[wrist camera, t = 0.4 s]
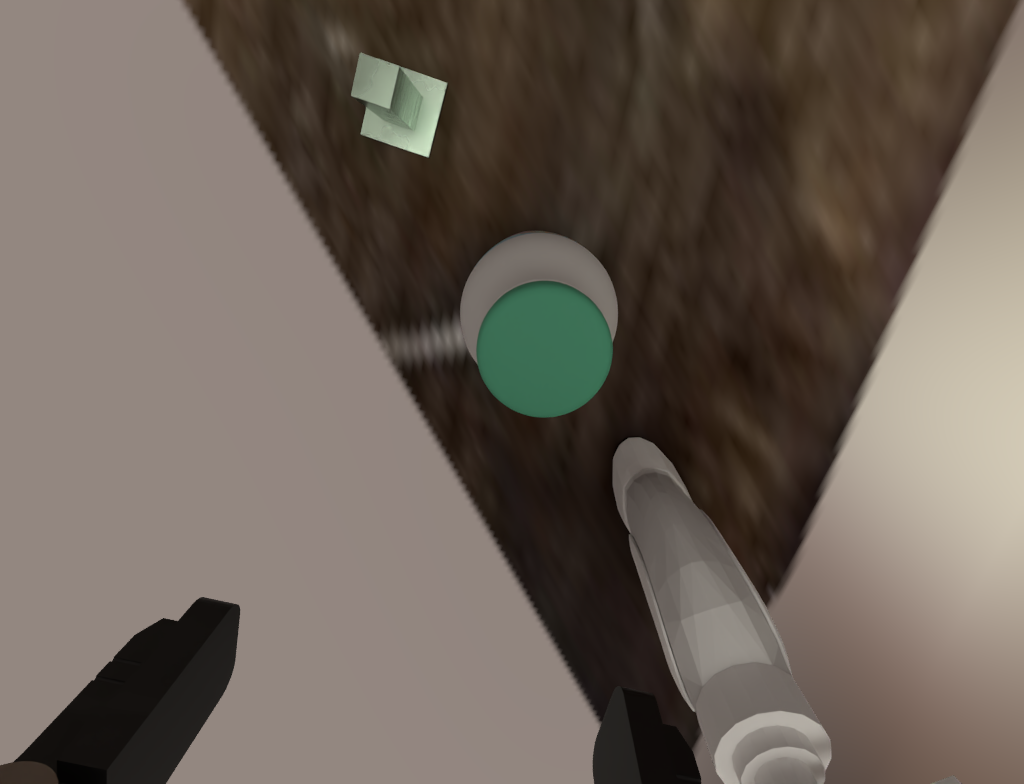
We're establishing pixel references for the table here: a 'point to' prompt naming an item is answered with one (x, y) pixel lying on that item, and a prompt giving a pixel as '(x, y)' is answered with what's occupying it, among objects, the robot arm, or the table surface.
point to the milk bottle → (540, 322)
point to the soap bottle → (716, 631)
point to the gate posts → (398, 104)
